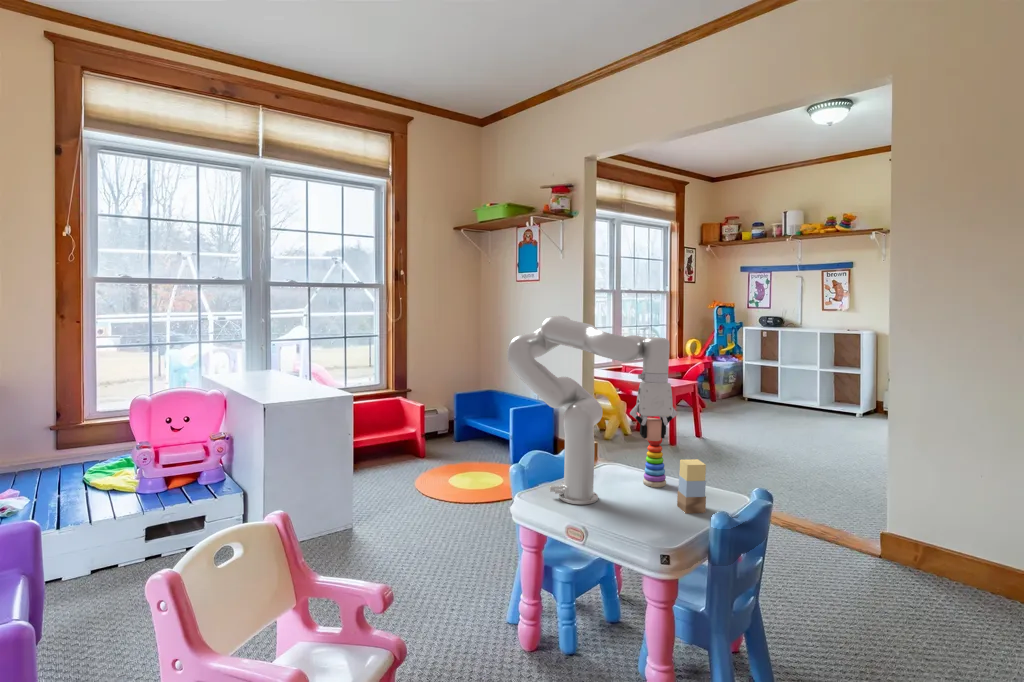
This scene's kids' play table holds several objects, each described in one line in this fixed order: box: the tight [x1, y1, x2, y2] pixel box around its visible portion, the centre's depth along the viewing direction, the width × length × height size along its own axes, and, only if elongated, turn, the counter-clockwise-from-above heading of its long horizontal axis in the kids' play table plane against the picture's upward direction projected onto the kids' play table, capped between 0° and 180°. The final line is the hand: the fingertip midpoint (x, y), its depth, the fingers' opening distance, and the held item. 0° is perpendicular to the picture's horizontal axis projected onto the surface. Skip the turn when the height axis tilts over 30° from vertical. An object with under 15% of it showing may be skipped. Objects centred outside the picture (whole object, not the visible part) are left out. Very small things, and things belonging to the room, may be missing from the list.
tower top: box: [679, 458, 707, 481], centre depth 182 cm, size 6×6×5 cm
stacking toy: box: [642, 438, 667, 488], centre depth 205 cm, size 8×8×19 cm
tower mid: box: [678, 474, 707, 497], centre depth 182 cm, size 6×6×5 cm
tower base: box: [676, 490, 707, 514], centre depth 182 cm, size 6×6×5 cm
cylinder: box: [643, 417, 662, 441], centre depth 179 cm, size 5×5×6 cm
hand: (652, 436), depth 179 cm, fingers closed on cylinder, 4 cm apart
